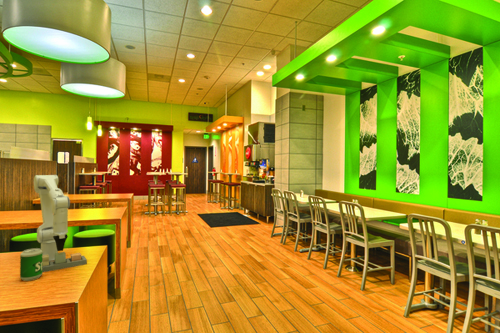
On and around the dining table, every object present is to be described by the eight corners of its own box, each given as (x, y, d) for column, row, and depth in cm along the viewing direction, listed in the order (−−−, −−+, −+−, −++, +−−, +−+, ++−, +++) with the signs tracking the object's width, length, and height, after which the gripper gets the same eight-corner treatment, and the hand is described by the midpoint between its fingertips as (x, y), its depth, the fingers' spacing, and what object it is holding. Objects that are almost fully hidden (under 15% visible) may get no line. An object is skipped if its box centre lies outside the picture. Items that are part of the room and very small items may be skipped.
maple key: (37, 264, 129) (37, 256, 129) (48, 262, 132) (48, 254, 132) (38, 267, 126) (38, 258, 126) (48, 265, 129) (48, 256, 129)
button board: (31, 269, 129) (31, 264, 129) (83, 259, 143) (83, 255, 143) (32, 274, 123) (32, 269, 123) (86, 264, 137) (86, 259, 137)
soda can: (30, 282, 115) (30, 253, 115) (15, 280, 116) (15, 252, 116) (46, 275, 122) (47, 248, 122) (32, 274, 124) (33, 247, 124)
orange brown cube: (70, 262, 138) (70, 254, 138) (79, 260, 140) (80, 252, 140) (71, 264, 134) (71, 256, 134) (81, 262, 137) (81, 254, 137)
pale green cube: (54, 261, 133) (54, 253, 133) (64, 259, 136) (64, 251, 136) (55, 264, 130) (55, 255, 130) (65, 262, 133) (65, 253, 133)
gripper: (48, 220, 136) (48, 248, 136) (51, 225, 125) (51, 256, 125) (66, 219, 141) (65, 246, 141) (70, 223, 130) (69, 253, 129)
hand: (60, 250), depth 133 cm, fingers closed
